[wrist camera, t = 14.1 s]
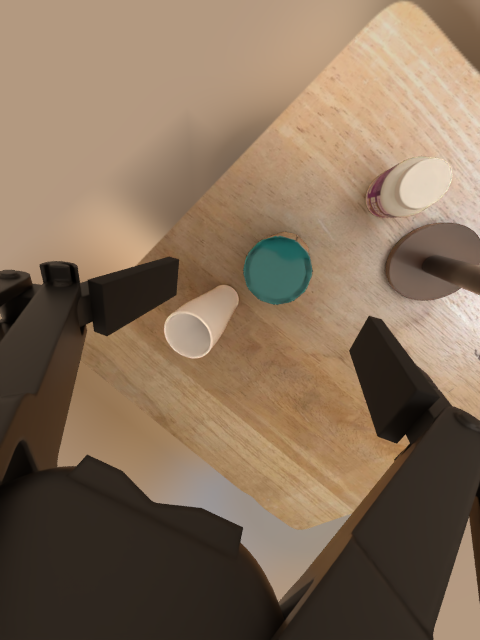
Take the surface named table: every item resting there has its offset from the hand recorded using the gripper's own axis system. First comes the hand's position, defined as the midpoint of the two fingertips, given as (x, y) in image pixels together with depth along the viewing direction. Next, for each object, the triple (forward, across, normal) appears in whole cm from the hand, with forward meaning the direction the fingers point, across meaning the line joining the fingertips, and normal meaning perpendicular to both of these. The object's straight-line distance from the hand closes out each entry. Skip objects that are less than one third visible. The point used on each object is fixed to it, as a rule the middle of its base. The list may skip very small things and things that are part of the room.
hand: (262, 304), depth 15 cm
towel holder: (+22, +19, +4) cm, 29 cm away
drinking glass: (+22, -8, -10) cm, 26 cm away
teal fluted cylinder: (+22, 0, -1) cm, 22 cm away
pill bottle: (+22, +10, +10) cm, 27 cm away
